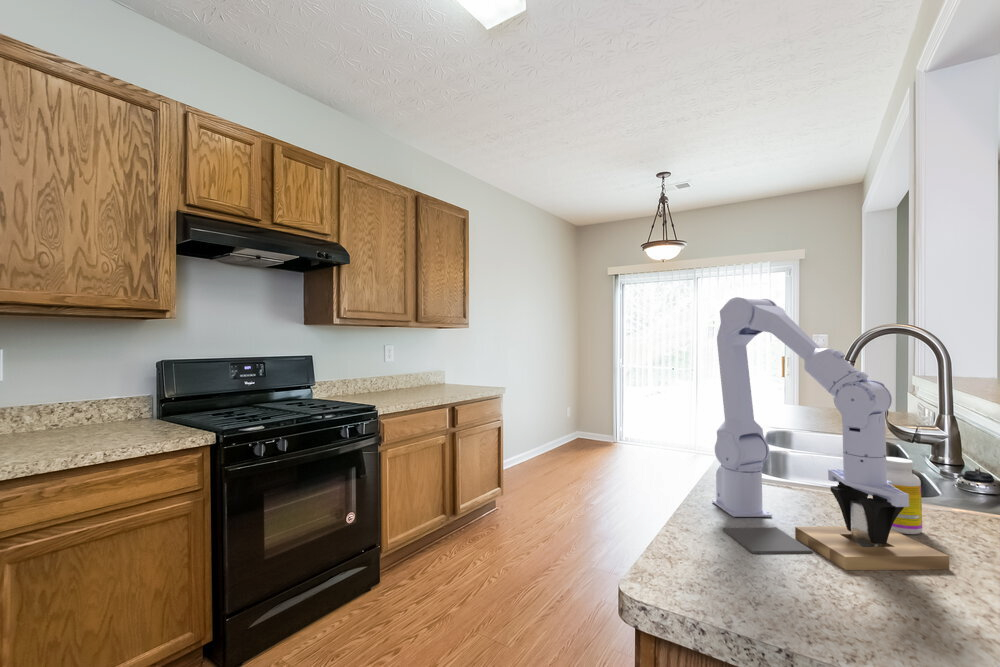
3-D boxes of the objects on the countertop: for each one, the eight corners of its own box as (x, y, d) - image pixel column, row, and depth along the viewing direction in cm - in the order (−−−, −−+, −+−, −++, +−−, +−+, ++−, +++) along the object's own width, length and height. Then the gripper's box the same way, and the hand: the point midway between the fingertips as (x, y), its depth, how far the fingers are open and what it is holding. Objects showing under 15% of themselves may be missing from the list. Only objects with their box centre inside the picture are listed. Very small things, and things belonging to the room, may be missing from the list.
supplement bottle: (931, 537, 84) (929, 464, 84) (889, 534, 85) (887, 462, 86) (907, 523, 91) (905, 456, 91) (868, 520, 92) (866, 454, 92)
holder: (795, 538, 84) (795, 526, 84) (884, 537, 84) (884, 526, 84) (845, 570, 72) (845, 556, 72) (949, 569, 72) (949, 555, 72)
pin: (845, 547, 80) (844, 499, 80) (869, 547, 80) (867, 499, 80) (864, 558, 76) (862, 508, 76) (888, 558, 76) (887, 507, 76)
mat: (722, 529, 88) (722, 527, 88) (776, 529, 88) (776, 527, 88) (752, 553, 78) (752, 551, 78) (812, 553, 78) (812, 550, 78)
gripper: (928, 464, 71) (930, 555, 71) (854, 444, 86) (856, 520, 85) (881, 464, 71) (884, 556, 71) (816, 444, 86) (817, 520, 85)
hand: (866, 536), depth 78 cm, fingers open, 4 cm apart
